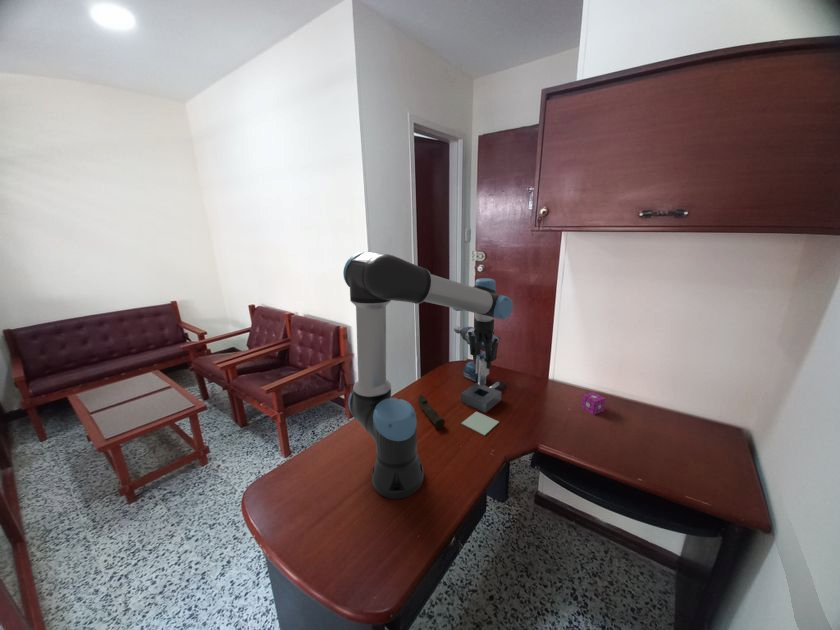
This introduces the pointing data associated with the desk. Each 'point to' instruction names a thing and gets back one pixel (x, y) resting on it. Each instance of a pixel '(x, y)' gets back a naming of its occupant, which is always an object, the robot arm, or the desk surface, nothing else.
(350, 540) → the desk surface
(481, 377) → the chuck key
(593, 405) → the puzzle toy
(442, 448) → the desk surface
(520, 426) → the desk surface
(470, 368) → the impact wrench
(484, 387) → the block
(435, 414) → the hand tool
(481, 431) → the mat
